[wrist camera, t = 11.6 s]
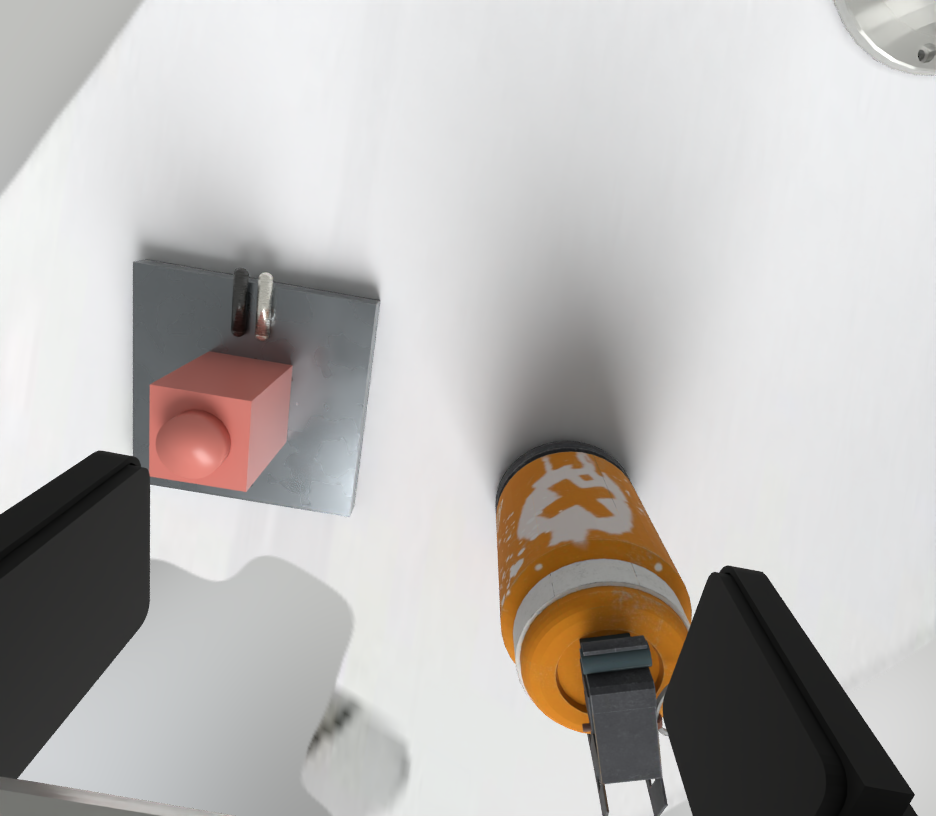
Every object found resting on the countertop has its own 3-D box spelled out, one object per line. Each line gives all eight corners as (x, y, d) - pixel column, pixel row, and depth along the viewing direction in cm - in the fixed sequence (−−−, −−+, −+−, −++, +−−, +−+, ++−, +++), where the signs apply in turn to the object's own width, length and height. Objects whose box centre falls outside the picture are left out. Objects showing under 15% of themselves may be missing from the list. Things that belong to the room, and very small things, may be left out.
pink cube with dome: (209, 351, 37) (136, 391, 29) (292, 365, 37) (242, 409, 30) (206, 428, 39) (136, 486, 31) (286, 441, 39) (237, 502, 31)
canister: (624, 427, 40) (754, 636, 21) (638, 575, 43) (761, 870, 24) (485, 447, 40) (488, 668, 21) (510, 592, 44) (531, 892, 25)
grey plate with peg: (146, 245, 37) (85, 254, 31) (382, 287, 37) (363, 303, 31) (145, 471, 41) (91, 515, 36) (354, 506, 42) (333, 554, 36)
